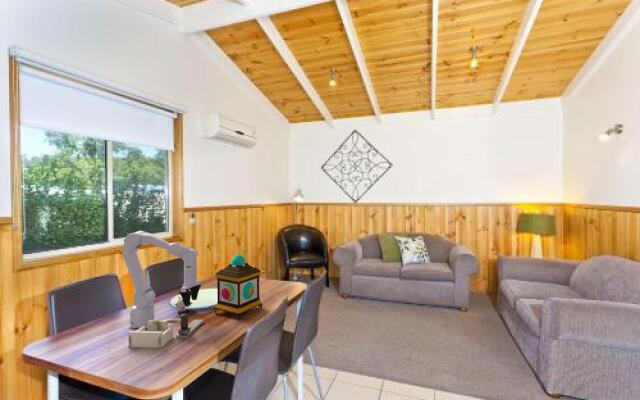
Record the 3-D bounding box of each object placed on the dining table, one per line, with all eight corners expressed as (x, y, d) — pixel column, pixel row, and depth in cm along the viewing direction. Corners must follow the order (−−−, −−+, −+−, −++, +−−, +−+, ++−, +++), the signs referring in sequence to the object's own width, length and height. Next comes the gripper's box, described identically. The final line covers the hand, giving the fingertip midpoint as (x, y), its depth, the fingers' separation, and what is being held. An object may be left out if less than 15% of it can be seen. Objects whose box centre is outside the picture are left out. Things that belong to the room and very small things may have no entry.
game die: (185, 319, 162) (183, 308, 156) (171, 312, 163) (169, 301, 157) (196, 306, 169) (195, 295, 163) (183, 299, 170) (182, 288, 164)
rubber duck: (148, 345, 127) (148, 325, 127) (143, 340, 131) (142, 321, 131) (162, 340, 131) (162, 321, 131) (156, 335, 135) (156, 317, 135)
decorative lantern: (239, 322, 149) (238, 260, 149) (210, 314, 159) (209, 256, 158) (266, 309, 166) (265, 253, 166) (238, 302, 176) (238, 249, 176)
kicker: (147, 336, 133) (147, 316, 133) (152, 332, 137) (152, 313, 137) (186, 337, 133) (186, 317, 133) (190, 333, 136) (190, 313, 136)
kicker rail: (176, 338, 133) (176, 335, 133) (194, 322, 150) (194, 319, 150) (186, 338, 132) (186, 335, 132) (203, 322, 149) (203, 319, 149)
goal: (128, 347, 125) (128, 332, 125) (142, 336, 134) (142, 322, 134) (161, 347, 125) (160, 332, 124) (173, 337, 134) (172, 323, 134)
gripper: (191, 278, 142) (191, 308, 142) (204, 270, 156) (205, 297, 157) (176, 278, 142) (176, 307, 142) (191, 270, 157) (191, 297, 157)
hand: (190, 302), depth 150 cm, fingers open, 7 cm apart
